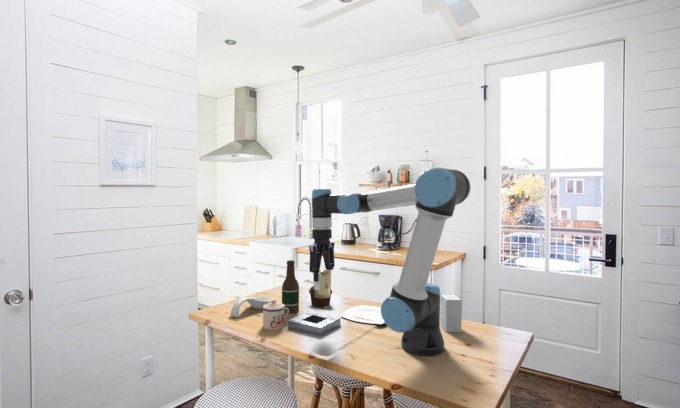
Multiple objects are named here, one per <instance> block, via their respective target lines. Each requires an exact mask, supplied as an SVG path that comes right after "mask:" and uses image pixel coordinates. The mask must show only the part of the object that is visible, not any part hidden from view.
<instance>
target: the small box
mask: <svg viewBox="0 0 680 408" xmlns="http://www.w3.org/2000/svg"><path fill="white" fill-rule="evenodd" d="M440 295H441V297H440V328H442V329H443V330H444V332H445V333H462V315H463V314H462V308H463V307H462V301H463V300H462V299H461V298H460V297H459V296H457V295H456V294H440Z"/></svg>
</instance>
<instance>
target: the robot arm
mask: <svg viewBox="0 0 680 408" xmlns="http://www.w3.org/2000/svg"><path fill="white" fill-rule="evenodd" d="M470 192H471V182H470V179H469V178H468V176H467V175H466V174H465V173H463V171H460V170H458V169H450V168H444V167H433V168H428V169H426V170H424V171H423V172H422V173H420V175H419V176H418V177H417V179H416V180H415V183H413V184H407V185H406V184H405V185H401V186H397V187H396V186H395V187H391V188H385V189H384V188H383V189H379V190H374V191H367V192H361V193H350V192H349V193H348V192H344V193H332V189H330V188H314V189H313V190H312V191H311V215H312V216H311V217H312V218H311V219H312V222H311V224H312V228H313V229H312V231H311V233H312V235H311V236H312V237H311V238H312V239H314V242H313V245H309V246H308V250H309V272H310V273H312V275H313V286H314V289H315V290H321V273H319V271H321V264H322V258H323V262H324V267H325V269H324V270H323V271H325V272H329V273H330V287H332V271H333V270H334V268H335V266H336V265H335V242H331V241H330V239H332V238H333V237H332V227H333V225H332V224H333V222H332V219H333V218H332V214H342V215H352V214H357V213H369V212H373V211H381V210H387V209H389V210H390V209H395V208H401V207H410V206H415V209H416V210H417V218H416V221H415V224H414V227H413V231H412V235H411V237H410V241H409V245H408V248H407V252H406V254H405V259H404V263H403V266H402V269H401V272H400V273H401V274H400V276H399V279H398V281H397V282H393V285H392V287H391V291H390V295H389V297H386V298H385V299H384V300H383V302H382V303H381V306H380V307H381V315H382V318H383V319H384V322H385V325H386V326H387V328H389V330H392V331H393V332H396V333H400V334H402V333H403V334H402V337H401V339H400V345H401V348H402V349H403V350H404V351H406V352H407V353H409V354H412V355H418V356H425V357H426V356H430V357H431V356H437V355H439V354H442V353H444V351H445V340H444V337H443V334H442V330H441V326H440V308H441V295H442V294H441V289H440V286H439V285H437V284H434V283H430V282H428V281H429V280H428V279H429V278H430V274H431V270H432V267H433V263H434V261H435V257H436V254H437V250H438V248H439V244H440V241H441V237H442V233H443V229H444V227H445V224H446V221H447V220H448V219H451V218H452V217H453V216H454V211H455V208H456V206H457V205H459V204H462V203H463V202H465V200H466V199H467V198H468V197H469V195H470Z"/></svg>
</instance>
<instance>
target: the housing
mask: <svg viewBox="0 0 680 408" xmlns="http://www.w3.org/2000/svg"><path fill="white" fill-rule="evenodd" d="M340 326H341V317H337V316H334V315H333V316H332V315H329V314H323V313H319V312H317V311H316V312H315V311H311V310H309V311H306V312H303V313H302V314H299V315H297V316H295V317H293V318H291V319H288V320H287V328H288V329H292V330H295V331H298V332H303V333H305V334H310V335H315V336H318V337H322V336H324V335H325V334H328V333H329V332H331V331H333V330H335V329H336V328H338V327H340Z"/></svg>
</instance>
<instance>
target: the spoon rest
mask: <svg viewBox="0 0 680 408" xmlns="http://www.w3.org/2000/svg"><path fill="white" fill-rule="evenodd" d="M272 299H273V298H272V297H267V296H266V297H265V296H254V297H245V296H244V297H240V298H239V299H238V300H236V301H235V303H234V304H233V305H232V308H231V310H230V317H232V318H233V317H234V318H237V319H238V318H240V308H241V306H242V305H243V303H245V302H247V303H248V304H249V305H250V306H251V307H252V308H254V309H255V310H263V309H262V308H263V306H264V305H265V304H268V303H269V302H271V300H272Z"/></svg>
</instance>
